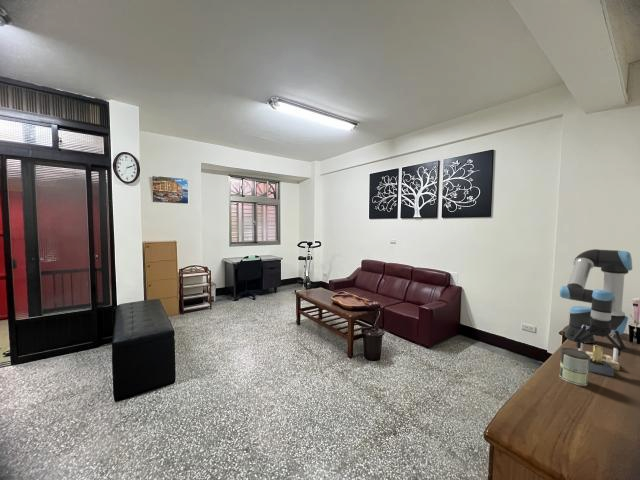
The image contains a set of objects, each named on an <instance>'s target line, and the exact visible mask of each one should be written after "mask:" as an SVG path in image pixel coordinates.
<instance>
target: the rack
mask: <svg viewBox="0 0 640 480" xmlns="http://www.w3.org/2000/svg"><path fill="white" fill-rule="evenodd" d="M585 353H587V354H588V355H589V356H590V358H592V354H593V351H589V350H585ZM602 361H606V362H607V363H608V364H609V365H610V366H611V367H612V368H613V369H614V371H620V365H621V364H620V363H619V362H618V361H617V362H615V361H614V360H613V356H611V355H608V354H603V353H602Z"/></svg>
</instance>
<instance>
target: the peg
mask: <svg viewBox="0 0 640 480" xmlns="http://www.w3.org/2000/svg"><path fill="white" fill-rule="evenodd" d="M592 345H593V346H592V352H593V354H592V363H594V364H599V365H601V364H602V354H603V352H604V350H603V349H604V347H603V346H602V345H598V344H592Z"/></svg>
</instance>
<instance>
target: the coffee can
mask: <svg viewBox="0 0 640 480" xmlns="http://www.w3.org/2000/svg"><path fill="white" fill-rule="evenodd" d="M589 358H590V356H589V355H588V354H587V353H586V351H585V352H584V351H583V350H582V351H579V349H575V348H572V347H571V348H570V347H561V348H560V362H559V363H560V364H559V365H560V366H559V375H558V376H559V377H561V378H560V379H561V380H563V381H565V382H567V383H569V384H573V385H576V386H583V387H586V386H588V378H589V371H588V368H589Z"/></svg>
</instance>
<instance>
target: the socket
mask: <svg viewBox="0 0 640 480" xmlns="http://www.w3.org/2000/svg"><path fill="white" fill-rule="evenodd" d="M588 373H594V374H599V375H604V376H607V377H612V378H614V377H615V370H614V369H613V368H612V367H611V366H610V365H609V364H608V363H607V362H606V361H602V364H601V365H599V364H594V363H592V358H589V368H588Z"/></svg>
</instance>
